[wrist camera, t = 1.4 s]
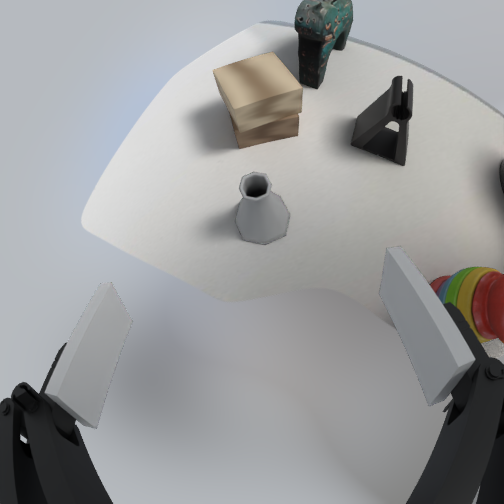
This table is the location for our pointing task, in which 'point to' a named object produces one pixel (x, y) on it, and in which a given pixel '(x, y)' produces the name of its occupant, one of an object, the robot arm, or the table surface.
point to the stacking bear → (476, 299)
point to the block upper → (258, 91)
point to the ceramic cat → (320, 35)
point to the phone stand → (379, 115)
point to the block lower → (268, 131)
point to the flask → (261, 210)
